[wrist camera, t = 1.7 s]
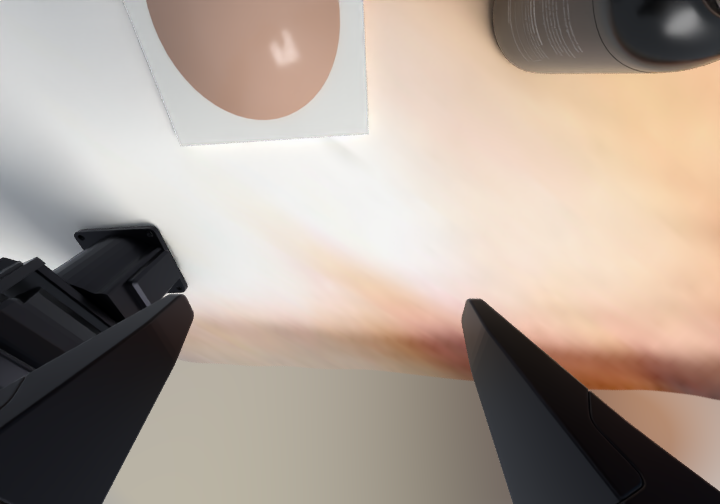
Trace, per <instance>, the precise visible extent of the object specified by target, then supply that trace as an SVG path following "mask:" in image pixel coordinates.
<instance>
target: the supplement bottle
mask: <svg viewBox="0 0 720 504" xmlns="http://www.w3.org/2000/svg"><path fill="white" fill-rule="evenodd" d="M493 27H494V33H495V37H496V40H497V43H498V45H499V47H500V49H501V51H502V53H503V54H504V56H505V57H506V58H507V59H508V60H509V61H510V62H511V63H512V64H513V65H514V66H516V67H518V68H520V69H522V70H524V71H527V72H532V73H544V74H613V73H666V72H678V71H684V70H690V69H693V68H697V67H701V66H705V65H707V64H710V63H713V62H716V61H718V60H720V0H494V3H493Z"/></svg>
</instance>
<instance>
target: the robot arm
mask: <svg viewBox="0 0 720 504" xmlns="http://www.w3.org/2000/svg"><path fill="white" fill-rule="evenodd" d="M150 232H152V234H151V233H150ZM74 237H75V238H76V240H77V241H78V243H79V244H80V245H81V247H82V248H83V250H84V251H82V252H81V253H79V254H78V255H76V256H75V257H73V258H72V259H70V260H69V261H67V262H65V263H64V264H62V265H61V266H59V267H58V268H56V269H55V270H53V271H52V270H50V269H49V268H48V267H47V266H45V265H44V264H46V263H44V262H43V261H42V260H41V259H39V258H38V257H35V258H33V259H31V260H29V261H27V262H24V263H22V262H21V261H15V260H11V259H8V258H4V257H3V258H1V259H0V504H102V503H103V501H104V499H105V497H106V495H107V493H108V492H109V490H110V488H111V486H112V484H113V482H114V480H115V478H116V476H117V474H118V472H119V470H120V469H121V466H122V465H123V463H124V461H125V459H126V457H127V455H128V453H129V451H130V449H131V448H132V445H133V443H134V442H135V440H136V438H137V436H138V434H139V432H140V430H141V428H142V426H143V425H144V423H145V421H146V419H147V417H148V415H149V413H150V411H151V409H152V407H153V405H154V403H155V402H156V400H157V398H158V396H159V394H160V392H161V390H162V388H163V386H164V384H165V382H166V380H167V378H168V377H169V375H170V373H171V371H172V369H173V367H174V365H175V363H176V360H177V358H178V356H179V353H180V351H181V348H182V346H183V343H184V341H185V338H186V336H187V333H188V331H189V328H190V326H191V323H192V321H193V317H194V313H193V310H192V308H191V306H190V304H189V302H188V300H187V298H186V296H185V295H183V294H169V295H167V296H165V297H164V295H165V294H166V293H182V292H184V291H185V290H186V289H187V287H188V286H187V284H186V282H185V280H184V278H183V276H182V274H181V272H180V270H179V268H178V267H177V265H176V263H175V261H174V259H173V257H172V255H171V253H170V251H169V249H168V247H167V246H166V244H165V242H164V240H163V238H162V236H161V234H160V232H159V231H158V229H157V228H155V227H153V226H141V227H123V228H104V229H86V230H79V231H78V232H76V233H75V234H74ZM163 297H164V298H163ZM462 328H463V333H464V338H465V343H466V348H467V353H468V358H469V363H470V368H471V372H472V375H473V379H474V382H475V385H476V388H477V391H478V394H479V397H480V401H481V404H482V407H483V410H484V413H485V416H486V419H487V422H488V426H489V429H490V432H491V435H492V438H493V441H494V445H495V448H496V451H497V454H498V457H499V460H500V463H501V467H502V470H503V473H504V476H505V479H506V482H507V486H508V489H509V492H510V495H511V498H512V501H513V504H720V491H718V490H717V489H716V488H715V487H713V486H712V485H710V484H709V483H708V482H707V481H705V480H704V479H703V478H701V477H700V476H699V475H697V474H696V473H695V472H693V471H692V470H690V469H689V468H688V467H687V466H685V465H684V464H682V463H681V462H680V461H678V460H677V459H676V458H675V457H673V456H672V455H671V454H669V453H668V452H666V451H665V450H664V449H663V448H661V447H660V446H659V445H657V444H656V443H654V442H653V441H652V440H651V439H649V438H648V437H647V436H646V435H644V434H643V433H642V432H640V431H639V430H638V429H636V428H635V427H634V426H633V425H631V424H630V423H629V422H628V421H626V420H625V419H624V418H623V417H621V416H620V415H619V414H618V413H617V412H615V411H614V410H613V409H612V408H610V407H609V406H608V405H607V404H605V403H604V402H603V401H602V400H601V399H600V398H598V397H597V396H596V395H595V394H594V393H592V392H591V391H588V389H587V388H586V387H585V386H584V385H583V384H582V383H581V382H579V381H578V380H577V379H576V378H575V377H573V376H572V375H571V374H570V373H569V372H567V371H566V370H565V369H564V368H563V367H562V366H560V365H559V364H558V363H557V362H556V361H554V360H553V359H552V358H551V357H550V356H549V355H547V354H546V353H545V352H544V351H543V350H541V349H540V348H539V347H538V346H537V345H536V344H534V343H533V342H532V341H531V340H530V339H528V338H527V337H526V336H525V335H524V334H522V333H521V332H520V331H519V330H518V329H517V328H515V327H514V326H513V325H512V324H511V323H509V322H508V321H507V320H506V319H505V318H504V317H502V316H501V315H500V314H499V313H498V312H496V311H495V310H494V309H493V308H492V307H490V306H489V305H488V304H487V303H486V302H485V301H483V300H482V299H468V300H467V301H466V304H465V307H464V311H463V314H462Z"/></svg>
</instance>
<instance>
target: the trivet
mask: <svg viewBox="0 0 720 504" xmlns="http://www.w3.org/2000/svg"><path fill="white" fill-rule="evenodd" d="M123 3H124V5H125V8H126V10H127V13H128V15H129V18H130V20H131V23H132V25H133V28H134V30H135V33H136V35H137V38H138V40H139V43H140V45H141V48H142V50H143V53H144V55H145V58H146V60H147V63H148V65H149V68H150V70H151V73H152V75H153V78H154V80H155V83H156V85H157V88H158V90H159V93H160V96H161V98H162V101H163V103H164V106H165V108H166V111H167V113H168V116H169V118H170V121H171V123H172V126H173V128H174V131H175V133H176V136H177V138H178V141H179V143H180V146H194V145H209V144H224V143H239V142H255V141H270V140H285V139H301V138H316V137H331V136H347V135H362V134H369V130H368V106H367V82H366V58H365V34H364V11H363V0H123Z"/></svg>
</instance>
